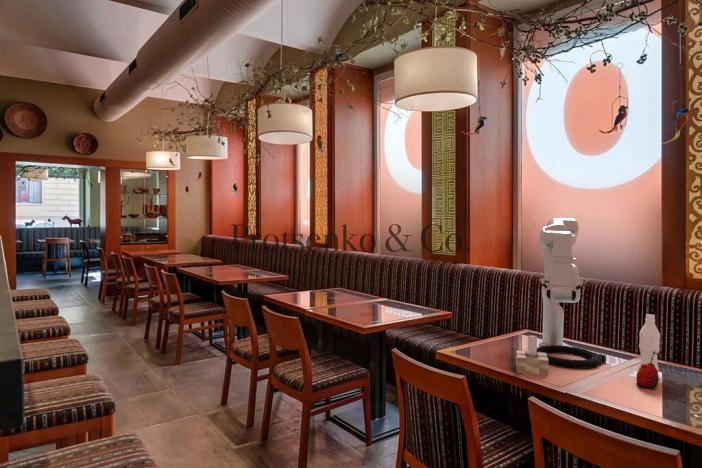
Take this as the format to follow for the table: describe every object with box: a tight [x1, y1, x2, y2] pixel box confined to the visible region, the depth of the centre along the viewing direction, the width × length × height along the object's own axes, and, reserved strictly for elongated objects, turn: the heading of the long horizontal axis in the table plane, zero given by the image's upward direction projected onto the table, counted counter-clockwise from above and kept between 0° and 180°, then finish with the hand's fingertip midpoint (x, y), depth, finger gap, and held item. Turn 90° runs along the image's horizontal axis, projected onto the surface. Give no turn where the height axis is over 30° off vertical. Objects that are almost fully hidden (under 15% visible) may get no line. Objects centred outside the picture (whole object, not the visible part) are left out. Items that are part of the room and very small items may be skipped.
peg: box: [527, 335, 538, 357], centre depth 201 cm, size 4×4×14 cm
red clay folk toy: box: [635, 350, 659, 390], centre depth 182 cm, size 8×7×15 cm
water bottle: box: [637, 313, 661, 374], centre depth 195 cm, size 7×7×25 cm
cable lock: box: [537, 345, 607, 369], centre depth 216 cm, size 28×4×30 cm
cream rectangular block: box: [515, 349, 549, 376], centre depth 201 cm, size 12×12×6 cm
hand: (561, 299), depth 209 cm, fingers open, 9 cm apart
